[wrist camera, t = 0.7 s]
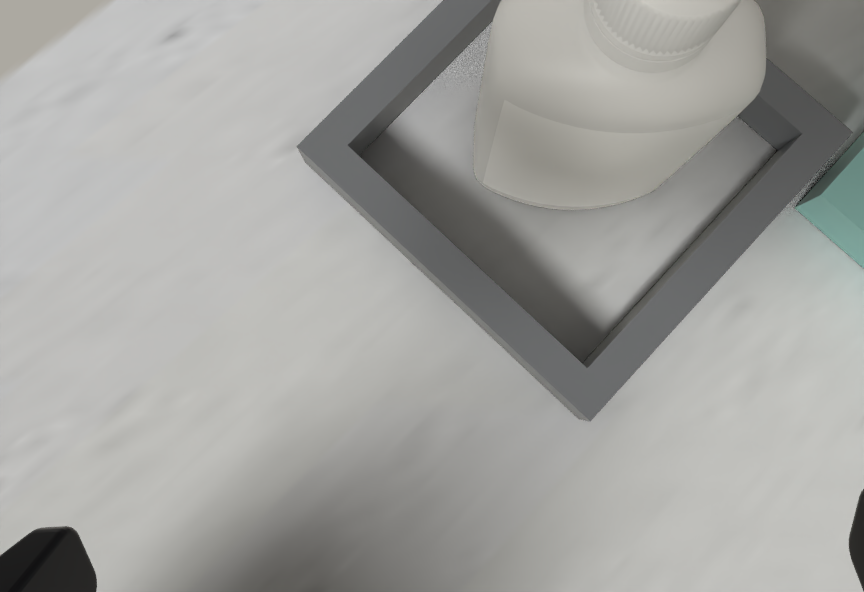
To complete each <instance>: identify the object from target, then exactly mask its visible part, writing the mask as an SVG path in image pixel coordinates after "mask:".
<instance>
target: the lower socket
mask: <svg viewBox="0 0 864 592" xmlns="http://www.w3.org/2000/svg"><path fill="white" fill-rule="evenodd" d="M795 209H797V210H798V211H799V212H800V213H801V214H802V215H803V216H805V217H806V218H807V219H808V220H809V221H810V222H811V223H813V224H814V225H815V226H816V227H817V228H818V229H819V230H820V231H822V232H823V233H824V234H825V235H826V236H827V237H828V238H830V239H831V240H832V241H833V242H834V243H835V244H836V245H838V246H839V247H840V248H841V249H842V250H843V251H844V252H846V253H847V254H848V255H849V256H850V257H851V258H852V259H854V260H855V261H856V262H857V263H858V264H859V265H860V266H862V267H863V268H864V132H863V133H862V134H861V135H860V136H859V138H858V139H857V140H856V141H855V142H854V143H853V144H852V145H851V146H850V147H849V149H848V150H847V151H846V152H845V153H844V154H843V155H842V156H841V157H840V159H839V160H838V161H837V162H836V163H835V164H834V165H833V166H832V167H831V168H830V170H829V171H828V172H827V173H826V174H825V175H824V176H823V177H822V178H821V179H820V181H819V182H818V183H817V184H816V185H815V186H814V187H813V188H812V189H811V190H810V192H809V193H808V194H807V195H806V196H805V197H804V198H803V199H802V200H801V202H800V203H799V204H798V205H797V206H796V207H795Z"/></svg>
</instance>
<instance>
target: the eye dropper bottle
mask: <svg viewBox="0 0 864 592" xmlns="http://www.w3.org/2000/svg"><path fill="white" fill-rule="evenodd" d="M765 72H766V31H765V22H764V16H763V14H762V11H761V9H760V6H759V5H758V4H757V3H756V2H755V1H754V0H501V1H500V3H499V6H498V8H497V10H496V13H495V16H494V18H493V22H492V26H491V31H490V36H489V41H488V46H487V52H486V58H485V63H484V69H483V75H482V81H481V87H480V93H479V99H478V105H477V111H476V118H475V124H474V144H473V170H474V174H475V177H476V179H477V180H478V181H479V182H480V183H481V184H482V185H483V186H484V187H485V188H487V189H489V190H491V191H493V192H495V193H497V194H499V195H502V196H504V197H506V198H509V199H512V200H515V201H518V202H521V203H525V204H528V205H533V206H537V207H543V208H549V209H559V210H586V209H595V208H602V207H608V206H612V205H617V204H621V203H624V202H627V201H631V200H634V199H636V198H639V197H642V196H644V195H646V194H648V193H651V192H653V191H654V190H655V189H657V188H658V187H659V186H660V185H661V184H662V183H663V182H665V181H666V180H667V179H668V178H669V177H670V176H671V175H672V174H674V173H675V172H676V171H677V170H678V169H679V168H680V167H681V166H683V165H684V164H685V163H686V162H687V161H688V160H689V159H690V158H692V157H693V156H694V155H695V154H696V153H697V152H698V151H699V150H700V149H702V148H703V147H704V146H705V145H706V144H707V143H708V142H709V141H710V140H711V139H713V138H714V137H715V136H716V135H717V134H718V133H719V132H720V131H721V130H722V129H724V128H725V127H726V126H727V125H728V124H729V123H730V122H731V121H732V120H733V119H735V118H736V117H737V116H738V115H739V114H740V113H741V112H742V111H743V110H744V109H745V108H746V107H747V106H748V105H749V104H750V103H751V102H752V101H753V100H754V99H755V97H756V96H757V95H758V93H759V92H760V89H761V86H762V83H763V81H764V77H765Z"/></svg>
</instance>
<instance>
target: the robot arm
mask: <svg viewBox="0 0 864 592" xmlns="http://www.w3.org/2000/svg"><path fill="white" fill-rule="evenodd" d="M849 551H850V556H851V559H852V562H853V565H854V568H855V570H856V573H857V575H858V578H859V580H860V583H861V586H862V588H863V591H864V489H863V491H862V492H861V494H860V497H859V500H858V504H857V508H856V512H855V516H854V520H853V524H852V528H851V532H850V536H849ZM96 588H97V579H96V574H95V571H94V568H93V566H92V564H91V562H90V559H89V557H88V555H87V553H86V550H85V548H84V546H83V544H82V541H81V539H80V537H79V535H78V533H77V531H75V530H74V529H73V528H72V527H67V526H65V527H46V528H39V529H36V530H34V531H32V532H31V533H29V534H28V535H26V536H25V537H24V538H23V539H21V540H20V541H19V542H17V543H16V544H15V545H13V546H12V547H11V548H10V549H8V550H7V551H6V552H4V553H3V554H2V555H0V592H96Z"/></svg>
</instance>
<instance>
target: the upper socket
mask: <svg viewBox="0 0 864 592" xmlns="http://www.w3.org/2000/svg"><path fill="white" fill-rule="evenodd" d="M500 1H501V0H443V1H442V2H441V3H440V4H439V5H438V6H437V7H436V8H435V9H434V10H433V11H432V12H431V13H430V14H429V15H428V16H427V17H426V18H425V19H424V20H423V21H422V22H421V23H420V24H419V25H418V26H417V27H416V28H415V29H414V30H413V31H412V32H411V33H410V34H409V35H408V36H407V37H406V38H405V39H404V40H403V41H402V42H401V43H400V44H399V45H398V46H397V47H396V48H395V49H394V50H393V51H392V52H391V53H390V54H389V55H388V56H387V57H386V58H385V59H384V60H383V61H382V62H381V63H380V64H379V65H378V66H377V67H376V68H375V69H374V70H373V71H372V72H371V73H370V74H369V75H368V76H367V77H366V78H365V79H364V80H363V81H362V82H361V83H360V84H359V85H358V86H357V87H356V88H355V89H354V90H353V91H352V92H351V93H350V94H349V95H348V96H347V97H346V98H345V99H344V100H343V101H342V102H341V103H340V104H339V105H338V106H337V107H336V108H335V109H334V110H333V111H332V112H331V113H330V114H329V115H328V116H327V117H326V118H325V119H324V120H323V121H322V122H321V123H320V124H319V125H318V126H317V127H316V128H315V129H314V130H313V131H312V132H311V133H310V134H309V135H308V136H307V137H306V138H305V139H304V140H303V141H302V142H301V143H300V144H299V145H298V146H297V148H298V150H299V152H300V153H301V155H302V157H303V159H304V161H305V163H306V164H308V165H309V166H310V167H311V168H312V169H313V170H314V171H315V172H316V173H317V174H318V175H319V176H320V177H321V178H322V179H324V180H325V181H326V182H327V183H328V184H329V185H330V186H331V187H332V188H333V189H334V190H335V191H336V192H337V193H338V194H340V195H341V196H342V197H343V198H344V199H345V200H346V201H347V202H348V203H349V204H350V205H351V206H352V207H353V208H354V209H356V210H357V211H358V212H359V213H360V214H361V215H362V216H363V217H364V218H365V219H366V220H367V221H368V222H369V223H370V224H371V225H373V226H374V227H375V228H376V229H377V230H378V231H379V232H380V233H381V234H382V235H383V236H384V237H385V238H386V239H387V240H389V241H390V242H391V243H392V244H393V245H394V246H395V247H396V248H397V249H398V250H399V251H400V252H401V253H402V254H403V255H405V256H406V257H407V258H408V259H409V260H410V261H411V262H412V263H413V264H414V265H415V266H416V267H417V268H418V269H419V270H421V271H422V272H423V273H424V274H425V275H426V276H427V277H428V278H429V279H430V280H431V281H432V282H433V283H434V284H435V285H437V286H438V287H439V288H440V289H441V290H442V291H443V292H444V293H445V294H446V295H447V296H448V297H449V298H450V299H451V300H453V301H454V302H455V303H456V304H457V305H458V306H459V307H460V308H461V309H462V310H463V311H464V312H465V313H466V314H467V315H469V316H470V317H471V318H472V319H473V320H474V321H475V322H476V323H477V324H478V325H479V326H480V327H481V328H482V329H483V330H485V331H486V332H487V333H488V334H489V335H490V336H491V337H492V338H493V339H494V340H495V341H496V342H497V343H498V344H499V345H501V346H502V347H503V348H504V349H505V350H506V351H507V352H508V353H509V354H510V355H511V356H512V357H513V358H514V359H515V360H516V361H518V362H519V363H520V364H521V365H522V366H523V367H524V368H525V369H526V370H527V371H528V372H529V373H530V374H531V375H532V376H534V377H535V378H536V379H537V380H538V381H539V382H540V383H541V384H542V385H543V386H544V387H545V388H546V389H547V390H548V391H550V392H551V393H552V394H553V395H554V396H555V397H556V398H557V399H558V400H559V401H560V402H561V403H562V404H563V405H564V406H566V407H567V408H568V409H569V410H570V411H571V412H572V413H573V414H574V415H575V416H576V417H577V418H578V419H581V420H586V421H591V420H592V419H593V418H594V417H595V416H596V414H597V413H598V412H599V411H600V410H601V409H602V408H603V407H604V406H605V405H606V403H607V402H608V401H609V400H610V399H611V398H612V397H613V396H614V395H615V394H616V392H617V391H618V390H619V389H620V388H621V387H622V386H623V385H624V384H625V383H626V381H627V380H628V379H629V378H630V377H631V376H632V375H633V374H634V373H635V372H636V370H637V369H638V368H639V367H640V366H641V365H642V364H643V363H644V362H645V361H646V359H647V358H648V357H649V356H650V355H651V354H652V353H653V352H654V351H655V350H656V348H657V347H658V346H659V345H660V344H661V343H662V342H663V341H664V340H665V339H666V337H667V336H668V335H669V334H670V333H671V332H672V331H673V330H674V329H675V328H676V326H677V325H678V324H679V323H680V322H681V321H682V320H683V319H684V318H685V317H686V315H687V314H688V313H689V312H690V311H691V310H692V309H693V308H694V307H695V306H696V304H697V303H698V302H699V301H700V300H701V299H702V298H703V297H704V296H705V295H706V293H707V292H708V291H709V290H710V289H711V288H712V287H713V286H714V285H715V284H716V282H717V281H718V280H719V279H720V278H721V277H722V276H723V275H724V274H725V273H726V271H727V270H728V269H729V268H730V267H731V266H732V265H733V264H734V263H735V261H736V260H737V259H738V258H739V257H740V256H741V255H742V254H743V253H744V252H745V250H746V249H747V248H748V247H749V246H750V245H751V244H752V243H753V242H754V241H755V239H756V238H757V237H758V236H759V235H760V234H761V233H762V232H763V231H764V230H765V228H766V227H767V226H768V225H769V224H770V223H771V222H772V221H773V220H774V219H775V217H776V216H777V215H778V214H779V213H780V212H781V211H782V210H783V209H784V208H785V206H786V205H787V204H788V203H789V202H790V201H791V200H792V199H793V198H794V197H795V195H796V194H797V193H798V192H799V191H800V190H801V189H802V188H803V187H804V186H805V184H806V183H807V182H808V181H809V180H810V179H811V178H812V177H813V176H814V175H815V173H816V172H817V171H818V170H819V169H820V168H821V167H822V166H823V165H824V164H825V162H826V161H827V160H828V159H829V158H830V157H831V156H832V155H833V154H834V153H835V151H836V150H837V149H838V148H839V147H840V146H841V145H842V144H843V143H844V142H845V140H846V139H847V138H848V137H849V136H850V135H851V134H852V133H853V132H852V131H851V130H850V129H849V128H847V127H846V126H845V125H844V124H843V123H842V122H840V121H839V120H838V119H837V118H836V117H835V116H833V115H832V114H831V113H830V112H829V111H828V110H827V109H825V108H824V107H823V106H822V105H821V104H820V103H818V102H817V101H816V100H815V99H814V98H813V97H811V96H810V95H809V94H808V93H807V92H806V91H804V90H803V89H802V88H801V87H800V86H799V85H797V84H796V83H795V82H794V81H793V80H792V79H790V78H789V77H788V76H787V75H786V74H785V73H783V72H782V71H781V70H780V69H779V68H778V67H776V66H775V65H774V64H773V63H772V62H771V61H769V60H768V59H767V58H766V72H765V77H764V81H763V83H762V86H761V89H760V92H759V93H758V95H757V96H756V97H755V99H754V100H753V101H752V102H751V103H750V104H749V105H748V106H747V107H746V108H745V109H744V110H743V111H742V112H741V113H740V114H739V115H738V116H739V117H740V118H741V119H742V120H743V121H744V122H746V123H747V124H748V125H749V126H750V127H751V128H753V129H754V130H755V131H756V132H757V133H758V134H759V135H761V136H762V137H763V138H764V139H765V140H766V141H767V142H769V143H770V144H771V145H772V146H773V147H774V148H775V149H777V150H778V151H777V152H776V153H775V154H774V155H773V156H772V157H771V158H770V160H769V161H768V162H767V163H766V164H765V165H764V166H763V167H762V168H761V169H760V170H759V172H758V173H757V174H756V175H755V176H754V177H753V178H752V179H751V180H750V181H749V182H748V184H747V185H746V186H745V187H744V188H743V189H742V190H741V191H740V192H739V193H738V194H737V195H736V197H735V198H734V199H733V200H732V201H731V202H730V203H729V204H728V205H727V206H726V207H725V209H724V210H723V211H722V212H721V213H720V214H719V215H718V216H717V217H716V218H715V219H714V221H713V222H712V223H711V224H710V225H709V226H708V227H707V228H706V229H705V230H704V231H703V232H702V234H701V235H700V236H699V237H698V238H697V239H696V240H695V241H694V242H693V243H692V244H691V246H690V247H689V248H688V249H687V250H686V251H685V252H684V253H683V254H682V255H681V256H680V258H679V259H678V260H677V261H676V262H675V263H674V264H673V265H672V266H671V267H670V268H669V269H668V271H667V272H666V273H665V274H664V275H663V276H662V277H661V278H660V279H659V280H658V281H657V283H656V284H655V285H654V286H653V287H652V288H651V289H650V290H649V291H648V292H647V293H646V295H645V296H644V297H643V298H642V299H641V300H640V301H639V302H638V303H637V304H636V305H635V306H634V308H633V309H632V310H631V311H630V312H629V313H628V314H627V315H626V316H625V317H624V318H623V320H622V321H621V322H620V323H619V324H618V325H617V326H616V327H615V328H614V329H613V330H612V332H611V333H610V334H609V335H608V336H607V337H606V338H605V339H604V340H603V341H602V342H601V343H600V345H599V346H598V347H597V348H596V349H595V350H594V351H593V352H592V353H591V354H590V355H589V357H588V358H587V359H586V360H585V361H584V362H583V363H581V362H580V361H579V360H578V359H577V358H576V357H575V356H574V355H573V354H572V353H571V352H569V351H568V350H567V349H566V348H565V347H564V346H563V345H562V344H561V343H560V342H559V341H558V340H557V339H555V338H554V337H553V336H552V335H551V334H550V333H549V332H548V331H547V330H546V329H545V328H544V327H543V326H541V325H540V324H539V323H538V322H537V321H536V320H535V319H534V318H533V317H532V316H531V315H530V314H529V313H527V312H526V311H525V310H524V309H523V308H522V307H521V306H520V305H519V304H518V303H517V302H516V301H515V300H513V299H512V298H511V297H510V296H509V295H508V294H507V293H506V292H505V291H504V290H503V289H502V288H501V287H499V286H498V285H497V284H496V283H495V282H494V281H493V280H492V279H491V278H490V277H489V276H488V275H487V274H485V273H484V272H483V271H482V270H481V269H480V268H479V267H478V266H477V265H476V264H475V263H474V262H473V261H471V260H470V259H469V258H468V257H467V256H466V255H465V254H464V253H463V252H462V251H461V250H460V249H459V248H457V247H456V246H455V245H454V244H453V243H452V242H451V241H450V240H449V239H448V238H447V237H446V236H445V235H444V234H442V233H441V232H440V231H439V230H438V229H437V228H436V227H435V226H434V225H433V224H432V223H431V222H430V221H428V220H427V219H426V218H425V217H424V216H423V215H422V214H421V213H420V212H419V211H418V210H417V209H416V208H414V207H413V206H412V205H411V204H410V203H409V202H408V201H407V200H406V199H405V198H404V197H403V196H402V195H400V194H399V193H398V192H397V191H396V190H395V189H394V188H393V187H392V186H391V185H390V184H389V183H388V182H386V181H385V180H384V179H383V178H382V177H381V176H380V175H379V174H378V173H377V172H376V171H375V170H374V169H372V168H371V167H370V166H369V165H368V164H367V163H366V162H365V161H364V160H363V159H362V158H361V157H360V156H359V155H360V154H361V153H362V152H363V151H364V150H365V149H366V148H367V147H368V146H369V145H370V144H371V143H372V142H373V141H374V140H375V139H376V138H377V137H378V136H379V135H380V134H381V133H382V132H383V131H384V130H385V129H386V128H387V127H388V126H389V125H390V124H391V123H392V122H393V121H394V120H395V119H396V118H397V117H398V115H399V114H400V113H401V112H402V111H403V110H404V109H405V108H406V107H407V106H408V105H409V104H410V103H411V102H412V101H413V100H414V99H415V98H416V97H417V96H418V95H419V94H420V93H421V92H422V91H423V90H424V89H425V88H426V87H427V86H428V85H429V84H430V83H431V82H432V81H433V80H434V79H435V78H436V77H437V76H438V75H439V74H440V73H441V72H442V71H443V70H444V69H445V68H446V67H447V66H448V65H449V64H450V63H451V62H452V61H453V60H454V59H455V58H456V57H457V56H458V55H459V54H460V53H461V52H462V51H463V50H464V49H465V48H466V47H467V46H468V45H469V44H470V43H471V42H472V41H473V40H474V39H475V38H476V37H477V36H478V35H479V34H480V33H481V32H482V31H483V30H484V29H485V28H486V27H487V26H488V25H489V24H490V23H491V22H492V21H493V18H494V16H495V13H496V10H497V8H498V6H499V3H500Z"/></svg>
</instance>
